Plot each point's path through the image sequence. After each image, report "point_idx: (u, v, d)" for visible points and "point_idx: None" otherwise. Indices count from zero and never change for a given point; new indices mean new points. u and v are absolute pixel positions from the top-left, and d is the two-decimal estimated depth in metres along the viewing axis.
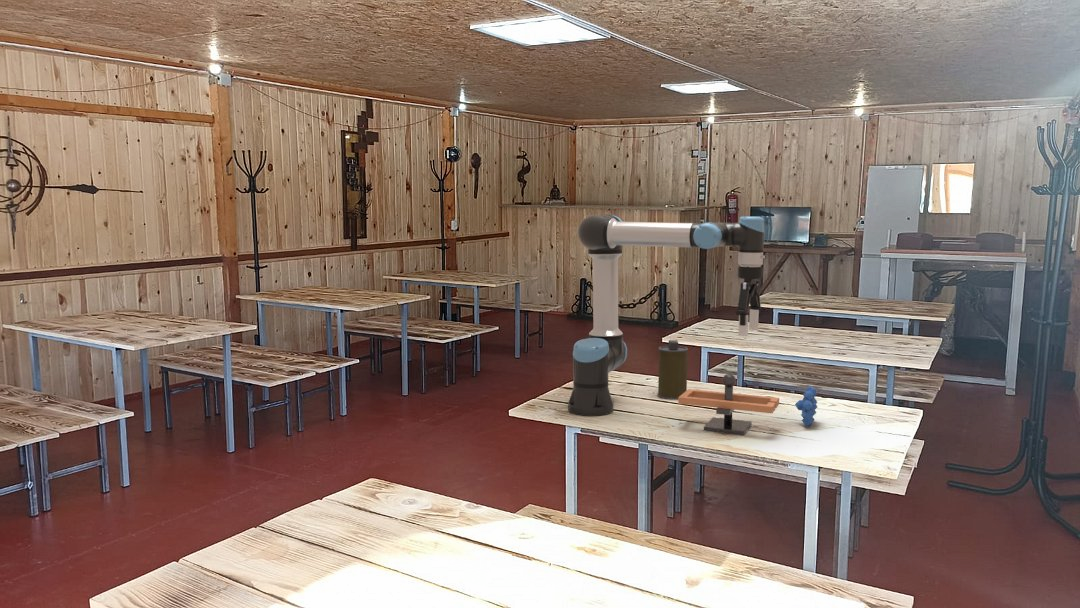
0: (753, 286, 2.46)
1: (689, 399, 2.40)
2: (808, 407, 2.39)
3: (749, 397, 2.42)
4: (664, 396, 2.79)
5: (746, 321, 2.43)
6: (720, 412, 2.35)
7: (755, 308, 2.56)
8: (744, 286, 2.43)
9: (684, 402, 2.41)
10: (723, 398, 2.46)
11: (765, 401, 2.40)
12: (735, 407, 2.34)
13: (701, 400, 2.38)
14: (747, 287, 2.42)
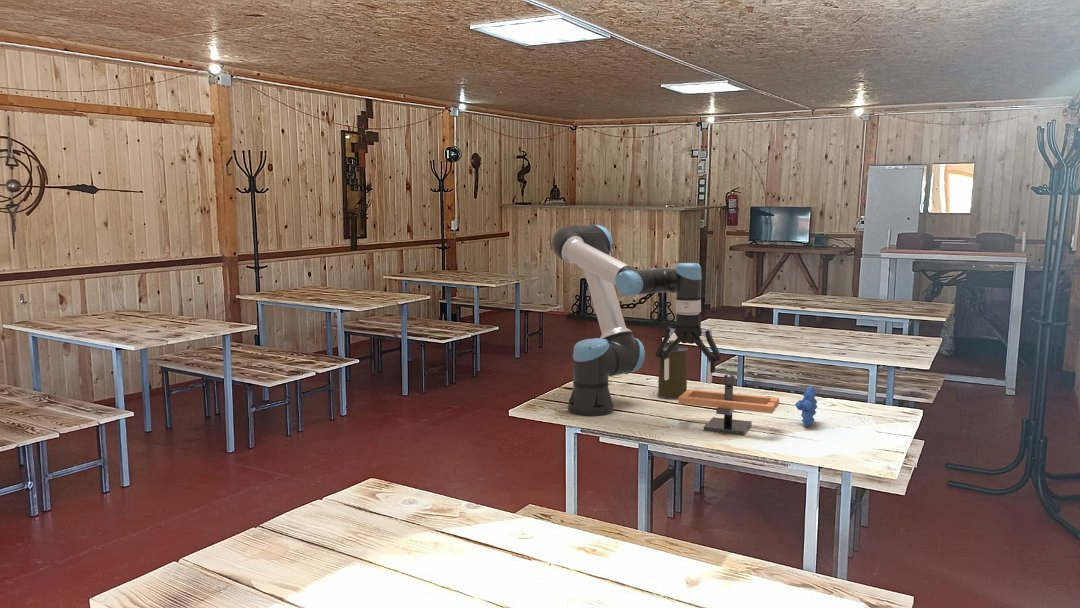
0: (680, 333, 2.43)
1: (689, 399, 2.40)
2: (808, 407, 2.39)
3: (749, 397, 2.42)
4: (664, 396, 2.79)
5: None
6: (720, 412, 2.35)
7: None
8: None
9: (684, 402, 2.41)
10: (723, 398, 2.46)
11: (765, 401, 2.40)
12: (735, 407, 2.34)
13: (701, 400, 2.38)
14: (665, 332, 2.46)
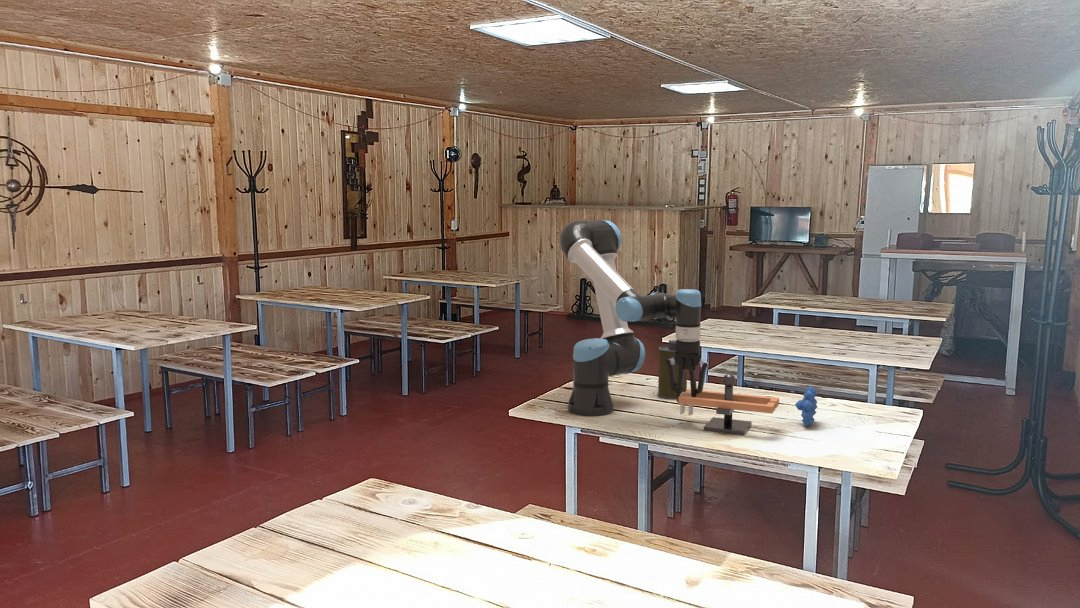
0: None
1: (689, 399, 2.40)
2: (808, 407, 2.39)
3: (749, 397, 2.42)
4: (664, 396, 2.79)
5: None
6: (720, 412, 2.35)
7: None
8: None
9: (684, 402, 2.41)
10: (723, 398, 2.46)
11: (765, 401, 2.40)
12: (735, 407, 2.34)
13: (701, 400, 2.38)
14: None
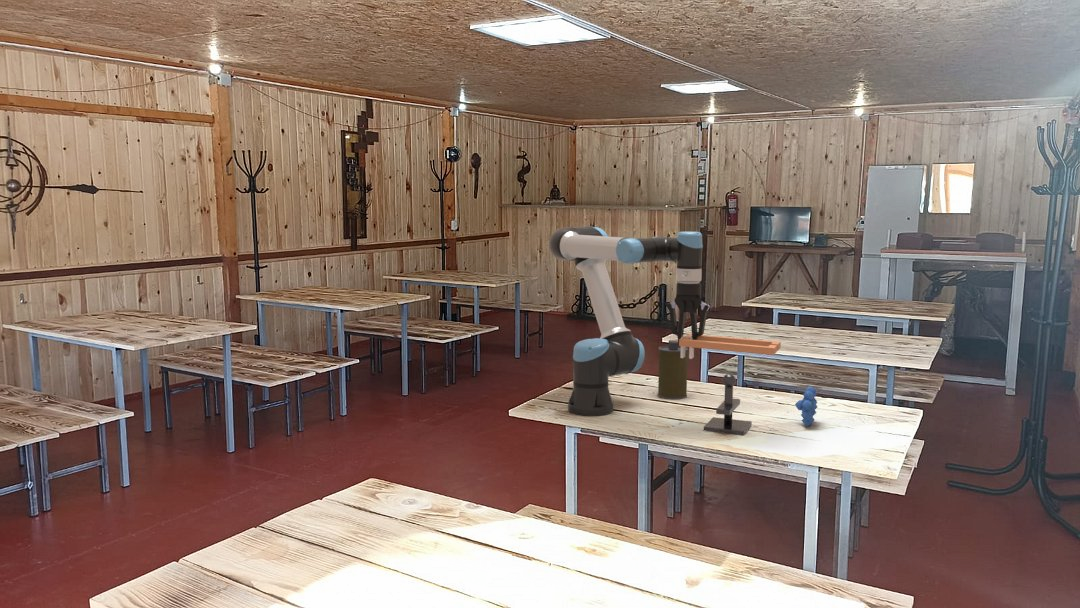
0: None
1: (690, 341, 2.38)
2: (808, 407, 2.39)
3: (750, 341, 2.40)
4: (664, 396, 2.79)
5: None
6: (720, 412, 2.35)
7: None
8: None
9: (685, 344, 2.39)
10: (724, 342, 2.43)
11: (766, 345, 2.38)
12: (736, 349, 2.32)
13: (702, 342, 2.36)
14: None
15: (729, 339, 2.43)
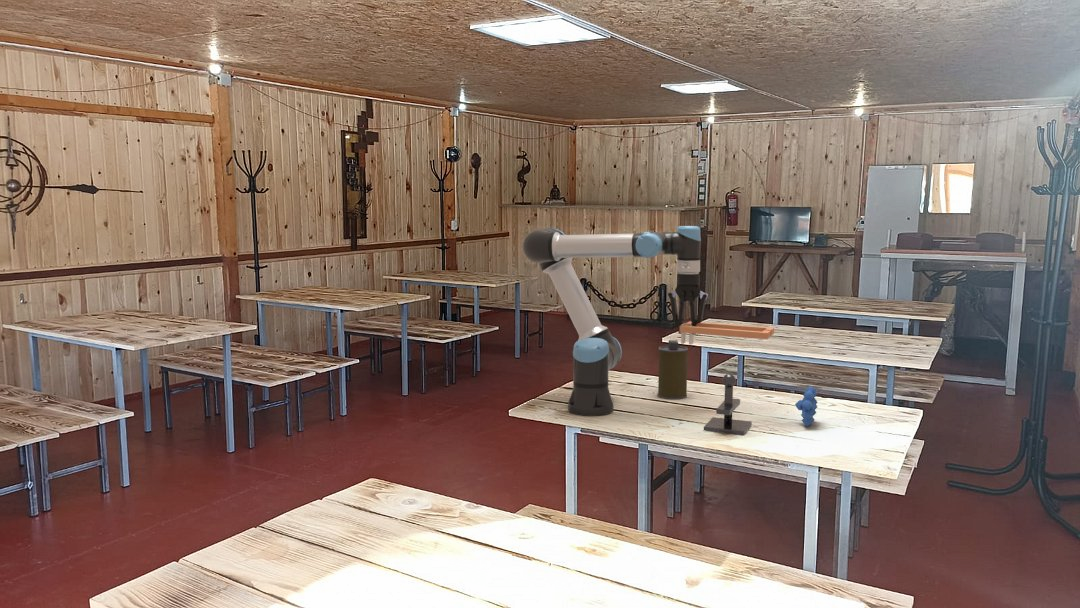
0: None
1: (690, 328, 2.56)
2: (808, 407, 2.39)
3: (746, 327, 2.58)
4: (664, 396, 2.79)
5: None
6: (720, 412, 2.35)
7: None
8: None
9: (685, 331, 2.57)
10: (721, 329, 2.61)
11: (761, 331, 2.56)
12: (732, 334, 2.50)
13: (701, 328, 2.54)
14: None
15: (726, 326, 2.61)
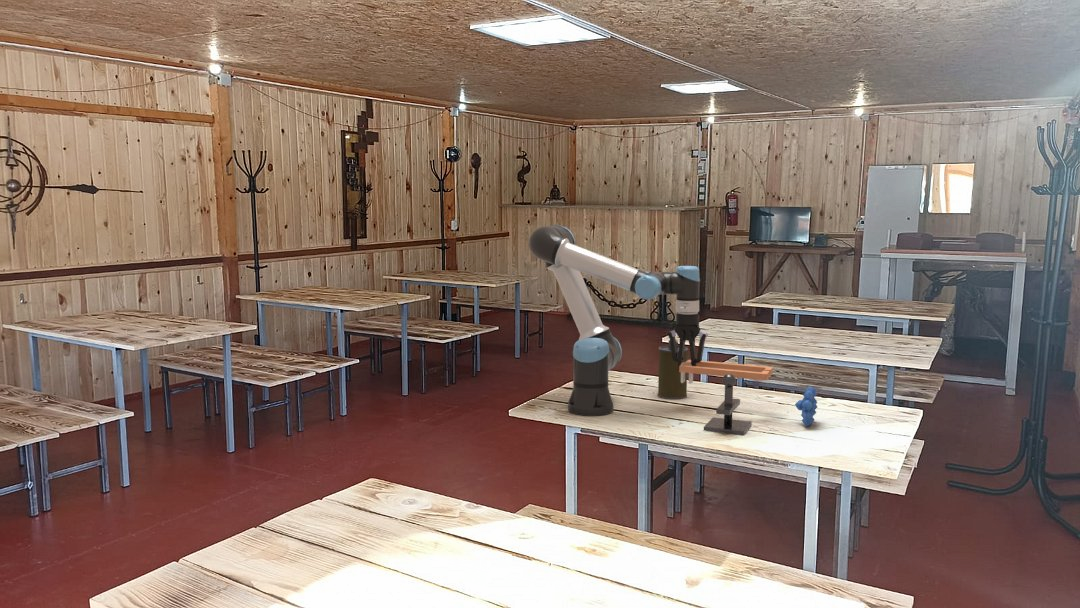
0: None
1: (689, 368, 2.57)
2: (808, 407, 2.39)
3: (745, 366, 2.60)
4: (664, 396, 2.79)
5: None
6: (720, 412, 2.35)
7: None
8: None
9: (684, 370, 2.58)
10: (721, 368, 2.63)
11: (760, 370, 2.58)
12: None
13: (700, 368, 2.56)
14: (669, 336, 2.64)
15: (725, 365, 2.62)
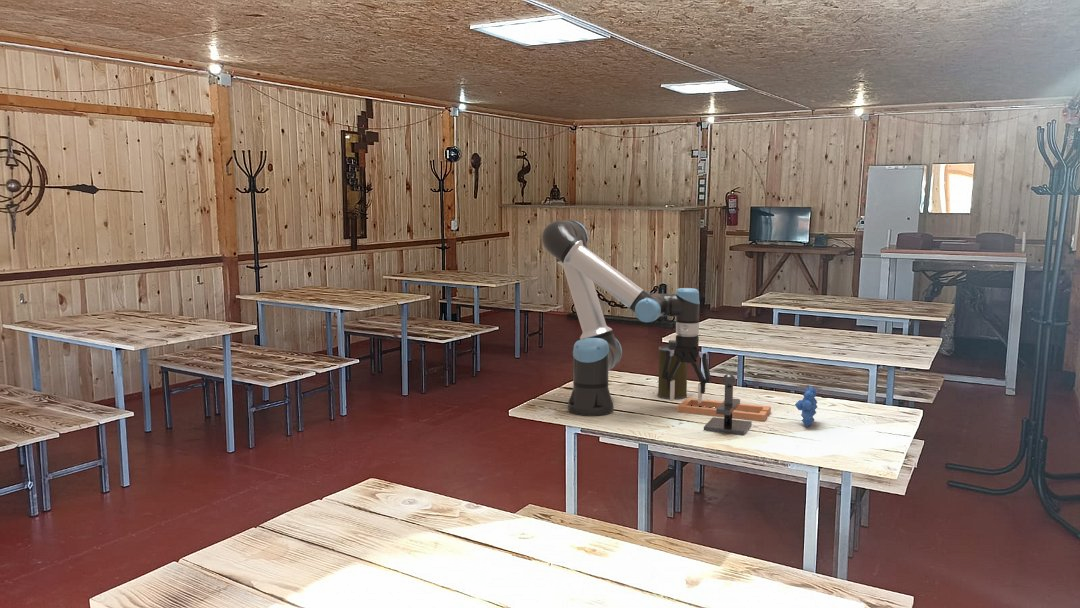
0: (679, 354, 2.63)
1: (687, 408, 2.59)
2: (808, 407, 2.39)
3: (743, 406, 2.61)
4: (664, 396, 2.79)
5: None
6: (720, 412, 2.35)
7: None
8: None
9: (683, 410, 2.60)
10: None
11: (758, 410, 2.59)
12: None
13: (698, 409, 2.58)
14: None
15: None
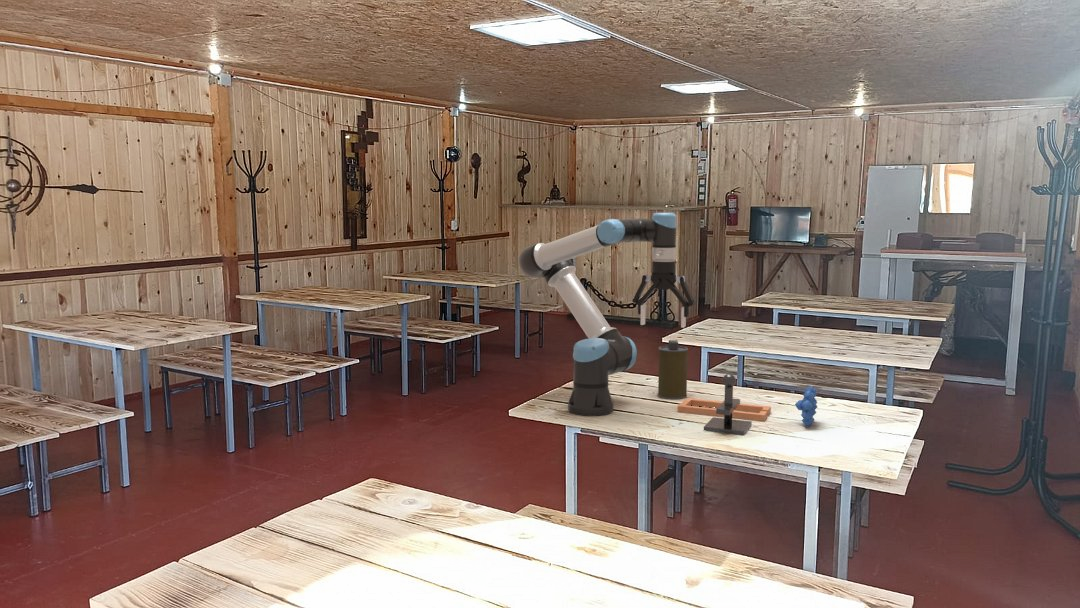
0: (656, 280, 2.55)
1: (687, 408, 2.59)
2: (808, 407, 2.39)
3: (743, 406, 2.61)
4: (664, 396, 2.79)
5: None
6: (720, 412, 2.35)
7: None
8: None
9: (683, 410, 2.60)
10: None
11: (758, 410, 2.59)
12: None
13: (698, 409, 2.58)
14: (642, 279, 2.58)
15: None
